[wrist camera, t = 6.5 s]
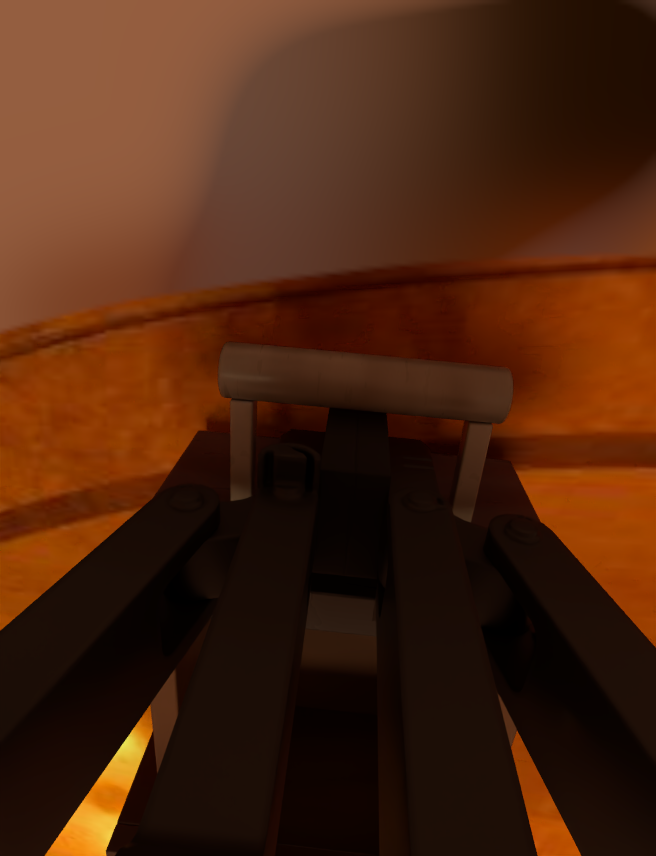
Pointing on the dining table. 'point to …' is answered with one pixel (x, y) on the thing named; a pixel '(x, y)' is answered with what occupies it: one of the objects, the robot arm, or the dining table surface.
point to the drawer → (333, 594)
